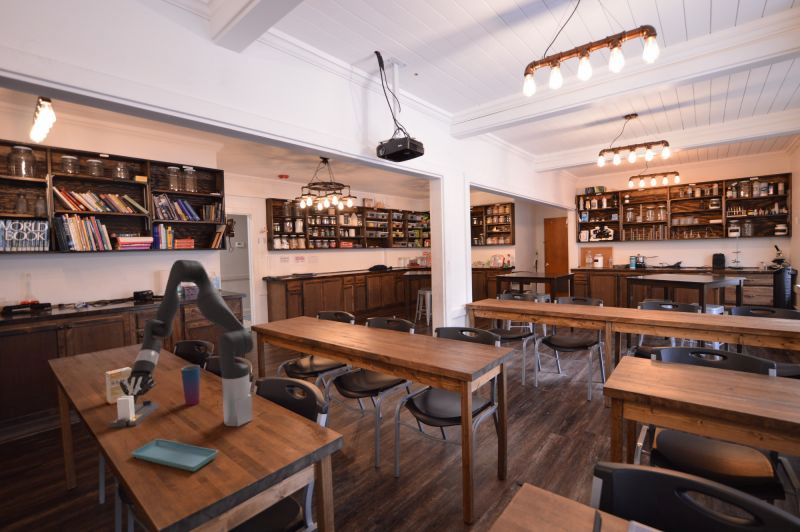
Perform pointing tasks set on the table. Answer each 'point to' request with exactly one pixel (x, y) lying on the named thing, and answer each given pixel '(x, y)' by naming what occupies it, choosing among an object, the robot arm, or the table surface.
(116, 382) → the supplement box
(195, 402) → the cup
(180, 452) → the rectangular tray
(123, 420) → the console
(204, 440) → the table surface
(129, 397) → the fader knob
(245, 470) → the table surface
